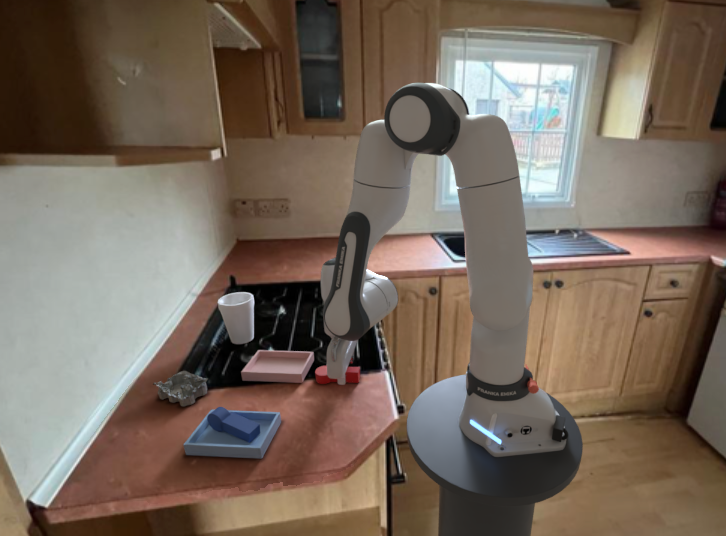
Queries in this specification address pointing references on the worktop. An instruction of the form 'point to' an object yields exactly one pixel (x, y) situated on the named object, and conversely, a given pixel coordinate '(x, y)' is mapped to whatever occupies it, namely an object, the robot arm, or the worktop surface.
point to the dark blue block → (233, 424)
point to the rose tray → (278, 366)
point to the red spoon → (323, 378)
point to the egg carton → (182, 388)
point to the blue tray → (233, 437)
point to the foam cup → (238, 316)
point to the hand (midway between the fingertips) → (346, 372)
